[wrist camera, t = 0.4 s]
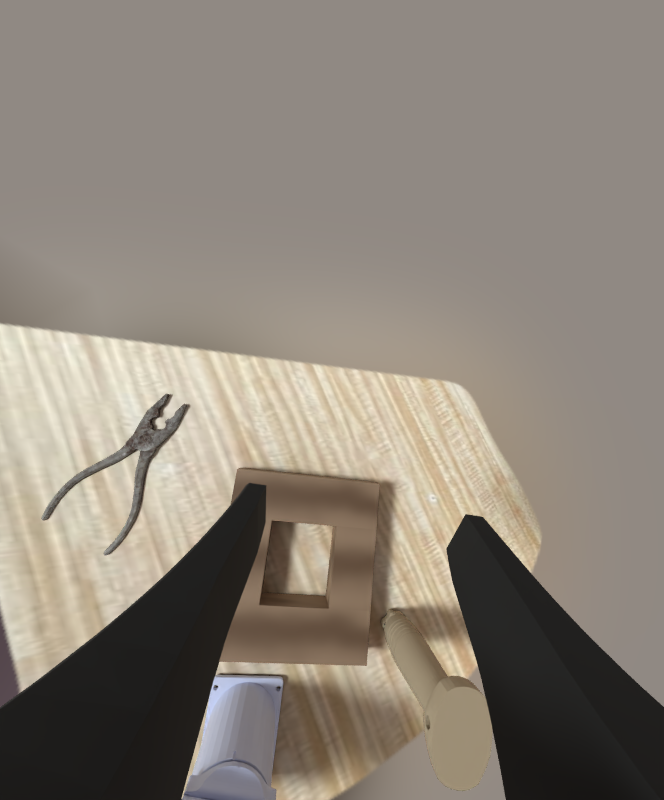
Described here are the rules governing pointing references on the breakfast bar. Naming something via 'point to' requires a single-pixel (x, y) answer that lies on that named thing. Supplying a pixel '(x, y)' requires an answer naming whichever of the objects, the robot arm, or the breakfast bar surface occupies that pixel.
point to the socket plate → (346, 586)
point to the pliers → (140, 440)
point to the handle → (443, 707)
